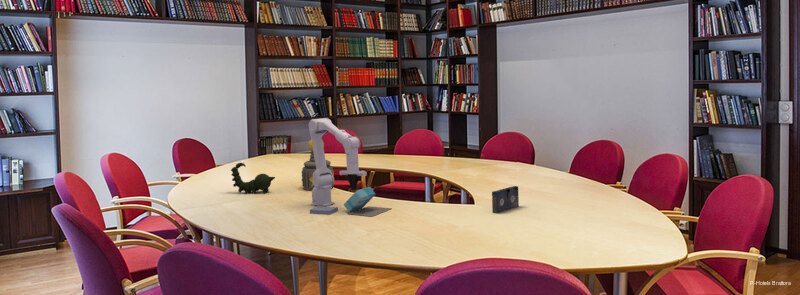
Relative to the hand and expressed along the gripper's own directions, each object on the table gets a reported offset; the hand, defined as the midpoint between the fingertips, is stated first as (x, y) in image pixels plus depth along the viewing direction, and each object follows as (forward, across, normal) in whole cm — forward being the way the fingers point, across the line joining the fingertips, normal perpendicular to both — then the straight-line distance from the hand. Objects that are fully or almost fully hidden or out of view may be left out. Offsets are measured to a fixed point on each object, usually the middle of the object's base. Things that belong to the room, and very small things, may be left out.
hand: (353, 190), depth 303 cm
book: (+10, +12, +9) cm, 18 cm away
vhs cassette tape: (+10, -67, -27) cm, 73 cm away
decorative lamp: (+10, +55, -43) cm, 70 cm away
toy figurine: (+10, +82, -18) cm, 84 cm away
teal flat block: (+8, +1, 0) cm, 8 cm away
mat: (+10, -9, 0) cm, 13 cm away
